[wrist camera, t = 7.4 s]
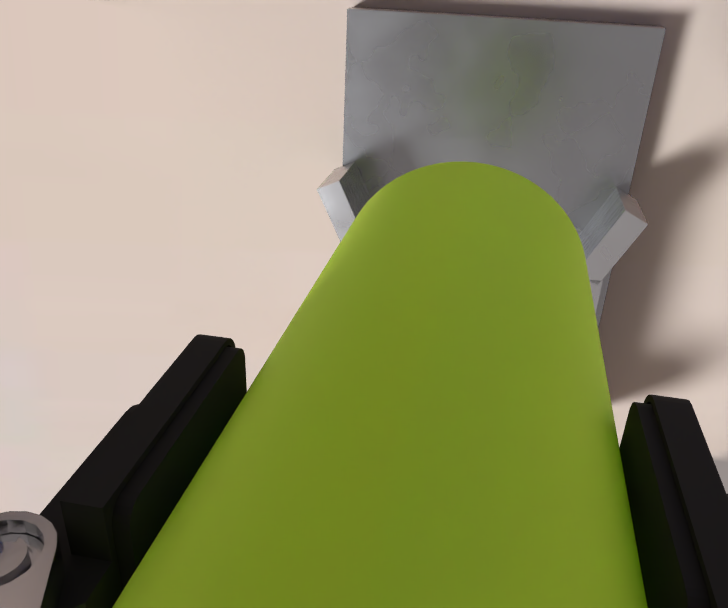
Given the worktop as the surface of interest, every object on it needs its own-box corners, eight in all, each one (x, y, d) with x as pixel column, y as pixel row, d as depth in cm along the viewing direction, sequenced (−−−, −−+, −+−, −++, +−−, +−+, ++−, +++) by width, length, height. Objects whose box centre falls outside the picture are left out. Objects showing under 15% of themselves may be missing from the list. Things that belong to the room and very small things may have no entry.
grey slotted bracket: (344, 6, 28) (303, 17, 23) (670, 26, 26) (707, 44, 21) (333, 377, 37) (302, 448, 31) (582, 414, 34) (593, 497, 29)
